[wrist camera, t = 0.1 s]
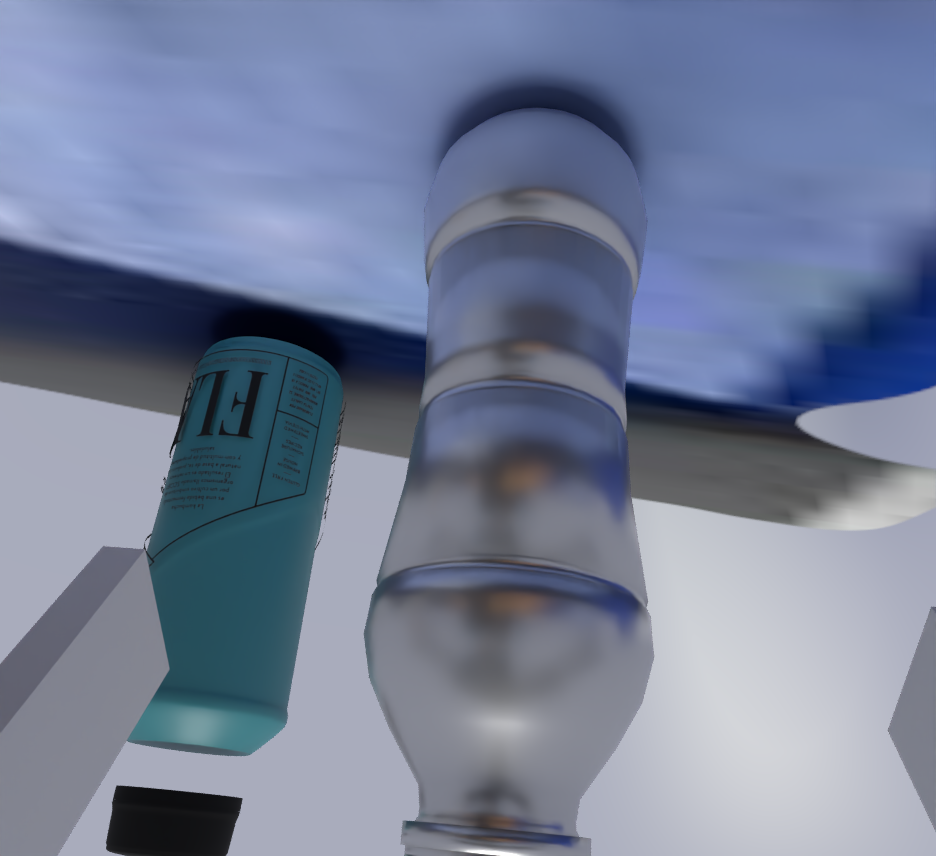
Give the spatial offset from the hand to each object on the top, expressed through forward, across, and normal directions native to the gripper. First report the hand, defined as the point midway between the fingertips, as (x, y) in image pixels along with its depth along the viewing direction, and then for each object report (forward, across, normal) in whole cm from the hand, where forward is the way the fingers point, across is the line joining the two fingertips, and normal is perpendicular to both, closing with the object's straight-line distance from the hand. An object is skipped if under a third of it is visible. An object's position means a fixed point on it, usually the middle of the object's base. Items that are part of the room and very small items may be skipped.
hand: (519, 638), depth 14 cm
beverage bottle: (+21, -11, -3) cm, 24 cm away
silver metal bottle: (+15, 0, +6) cm, 16 cm away
